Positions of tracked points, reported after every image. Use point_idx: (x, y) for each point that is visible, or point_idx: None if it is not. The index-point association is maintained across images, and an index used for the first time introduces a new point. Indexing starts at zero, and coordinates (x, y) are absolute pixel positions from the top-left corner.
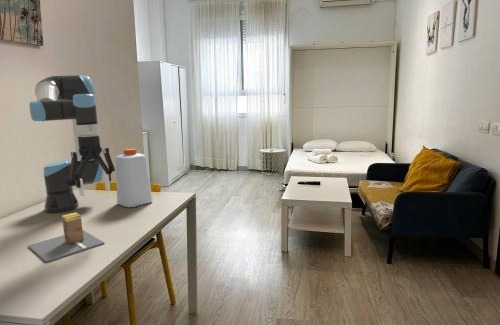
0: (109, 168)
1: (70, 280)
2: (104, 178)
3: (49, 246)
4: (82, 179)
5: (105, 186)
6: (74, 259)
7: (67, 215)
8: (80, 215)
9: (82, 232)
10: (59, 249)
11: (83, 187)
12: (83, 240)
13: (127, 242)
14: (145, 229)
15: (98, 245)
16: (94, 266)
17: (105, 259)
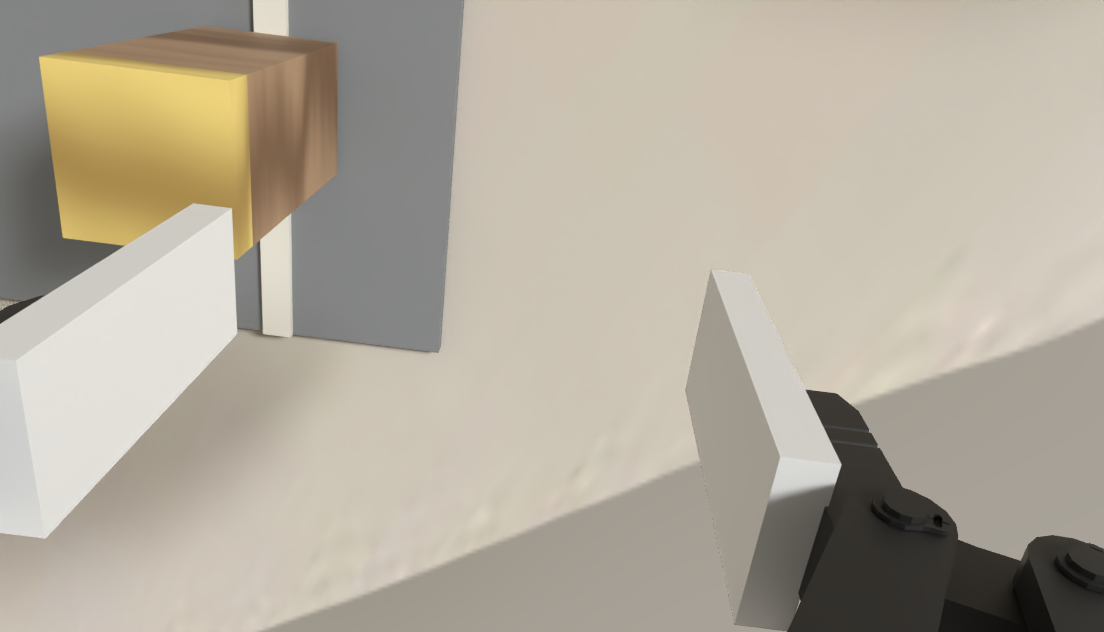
0: (1028, 627)
1: (67, 614)
2: (747, 403)
3: (59, 8)
4: (48, 533)
5: (716, 314)
6: None
7: (105, 112)
8: (236, 257)
9: (307, 195)
10: None
11: (159, 415)
12: (339, 157)
13: (568, 468)
14: (844, 374)
15: (390, 341)
16: (226, 585)
17: (316, 562)
